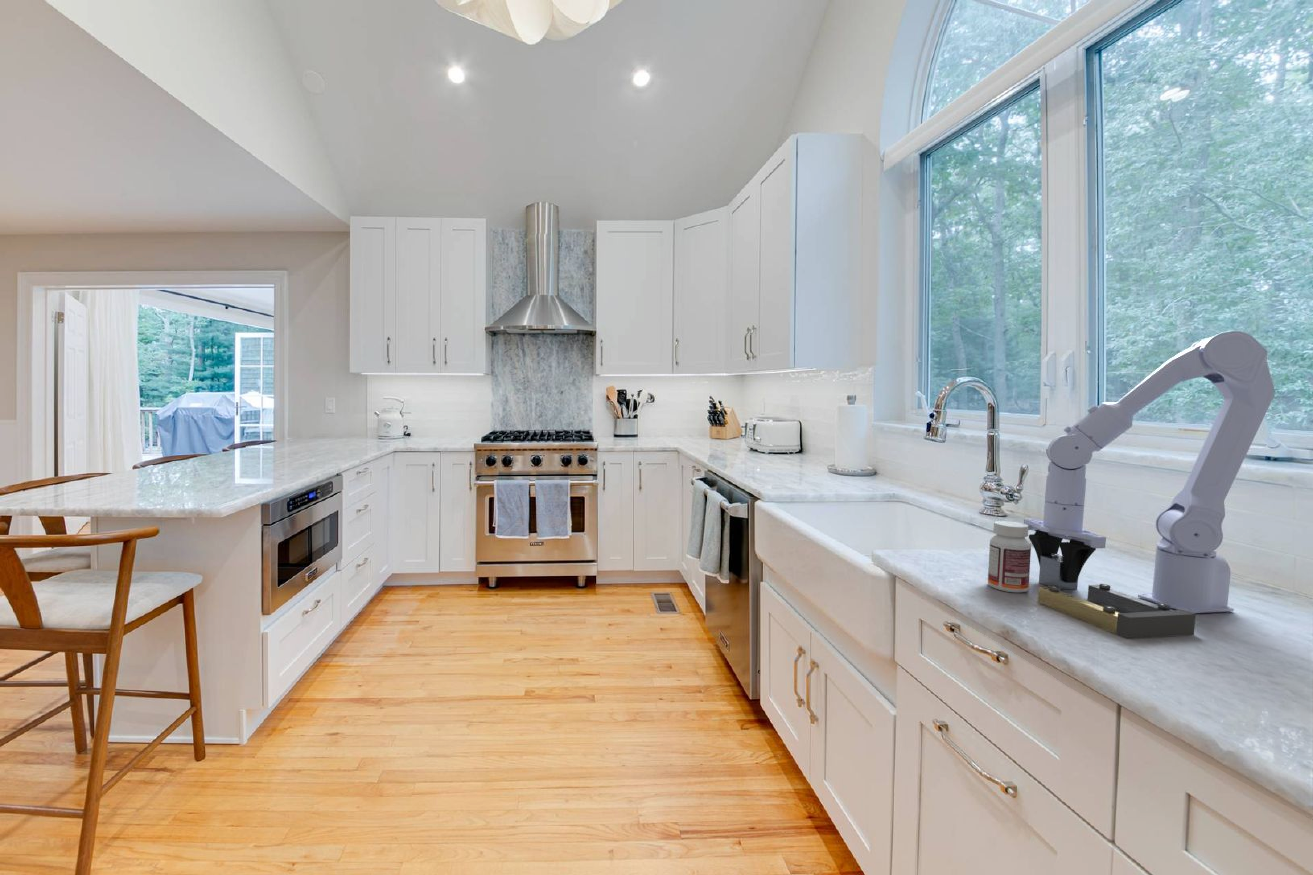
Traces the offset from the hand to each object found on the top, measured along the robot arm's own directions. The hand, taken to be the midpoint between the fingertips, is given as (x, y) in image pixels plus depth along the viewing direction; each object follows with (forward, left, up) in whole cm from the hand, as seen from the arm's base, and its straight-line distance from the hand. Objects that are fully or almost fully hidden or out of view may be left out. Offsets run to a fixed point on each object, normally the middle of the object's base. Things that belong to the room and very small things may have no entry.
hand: (1058, 578), depth 103 cm
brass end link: (+10, +14, -1) cm, 17 cm away
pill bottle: (+10, 0, -2) cm, 11 cm away
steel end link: (+1, +14, -1) cm, 14 cm away
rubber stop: (+5, +21, -1) cm, 22 cm away
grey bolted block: (0, 0, -1) cm, 1 cm away
